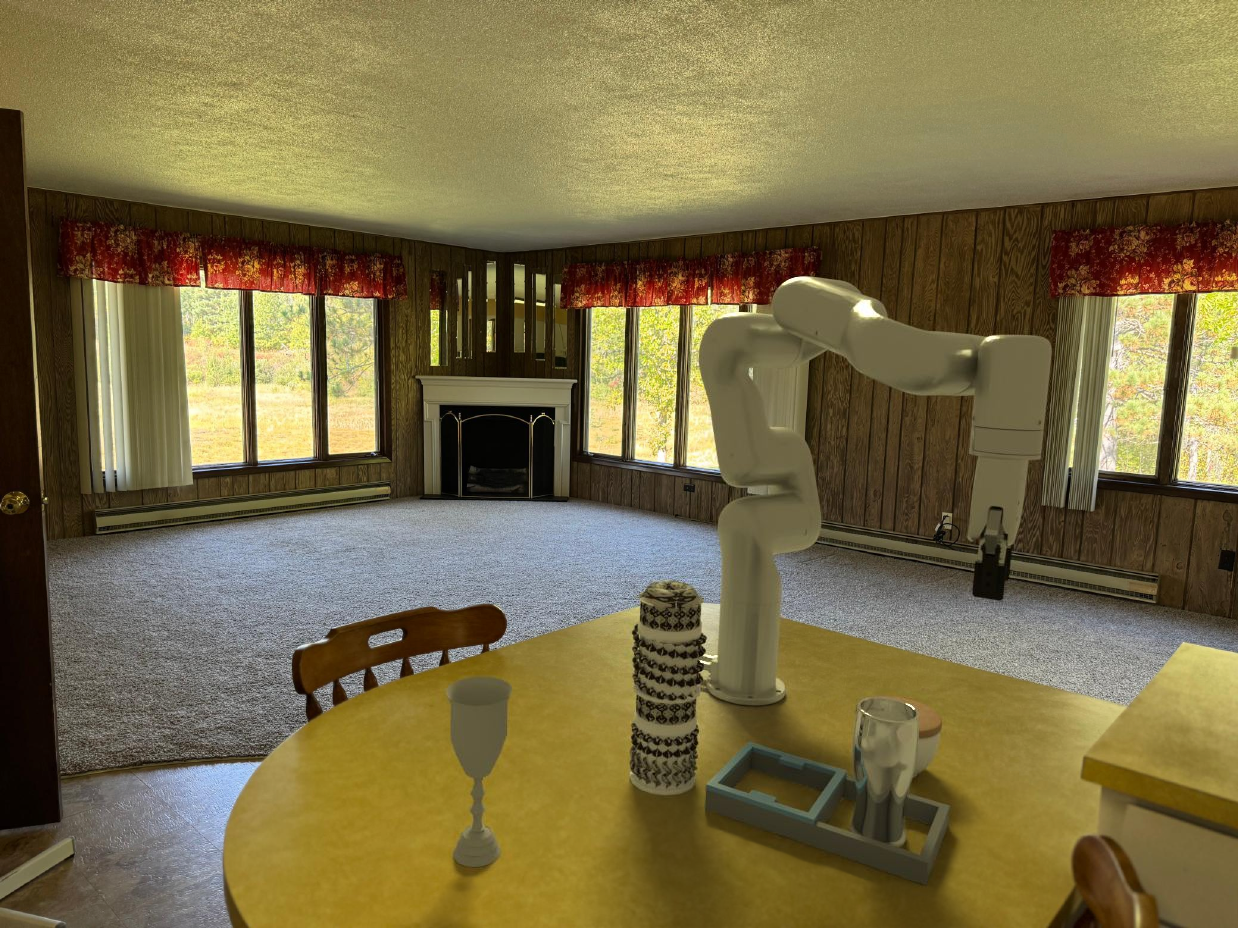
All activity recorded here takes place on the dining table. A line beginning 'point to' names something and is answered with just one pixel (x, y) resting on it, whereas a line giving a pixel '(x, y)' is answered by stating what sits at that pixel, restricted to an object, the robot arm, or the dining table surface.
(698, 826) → the dining table surface
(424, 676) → the dining table surface
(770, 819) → the slot frame
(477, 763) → the chalice
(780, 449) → the robot arm
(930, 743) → the lidded jar
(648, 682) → the decorative candle
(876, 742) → the beer glass
